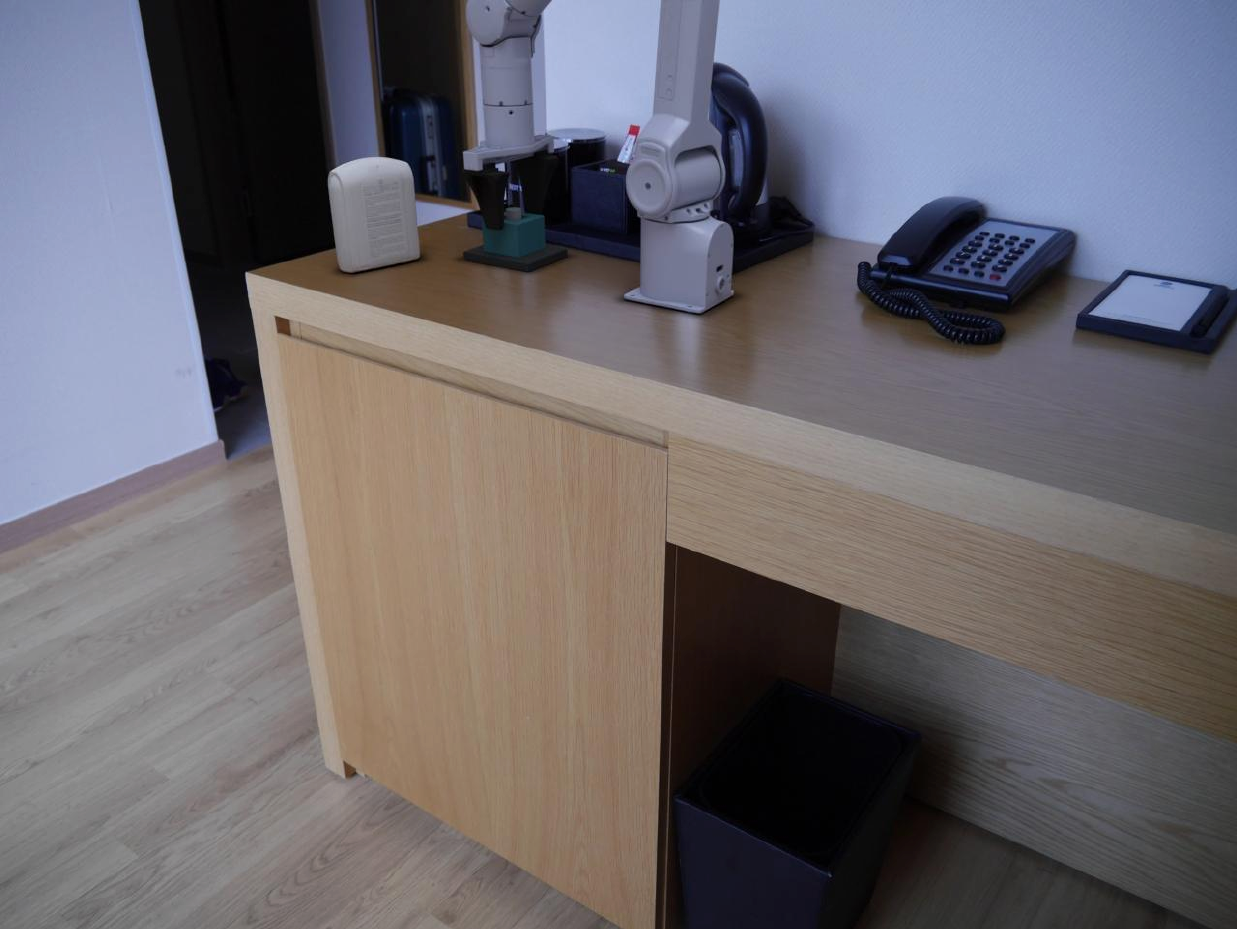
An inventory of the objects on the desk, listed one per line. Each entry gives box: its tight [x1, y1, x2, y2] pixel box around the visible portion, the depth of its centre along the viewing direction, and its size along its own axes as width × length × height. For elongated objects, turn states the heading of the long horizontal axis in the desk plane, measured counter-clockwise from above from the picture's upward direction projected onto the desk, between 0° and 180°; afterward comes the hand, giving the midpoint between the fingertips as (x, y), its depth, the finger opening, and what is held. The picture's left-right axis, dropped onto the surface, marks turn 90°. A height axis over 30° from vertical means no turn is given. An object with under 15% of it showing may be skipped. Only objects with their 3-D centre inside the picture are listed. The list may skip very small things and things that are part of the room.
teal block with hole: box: [481, 211, 546, 258], centre depth 117 cm, size 5×5×4 cm
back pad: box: [462, 206, 569, 273], centre depth 117 cm, size 10×8×6 cm
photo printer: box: [327, 156, 421, 274], centre depth 113 cm, size 10×4×12 cm, turn 134°
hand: (514, 222), depth 116 cm, fingers open, 7 cm apart
